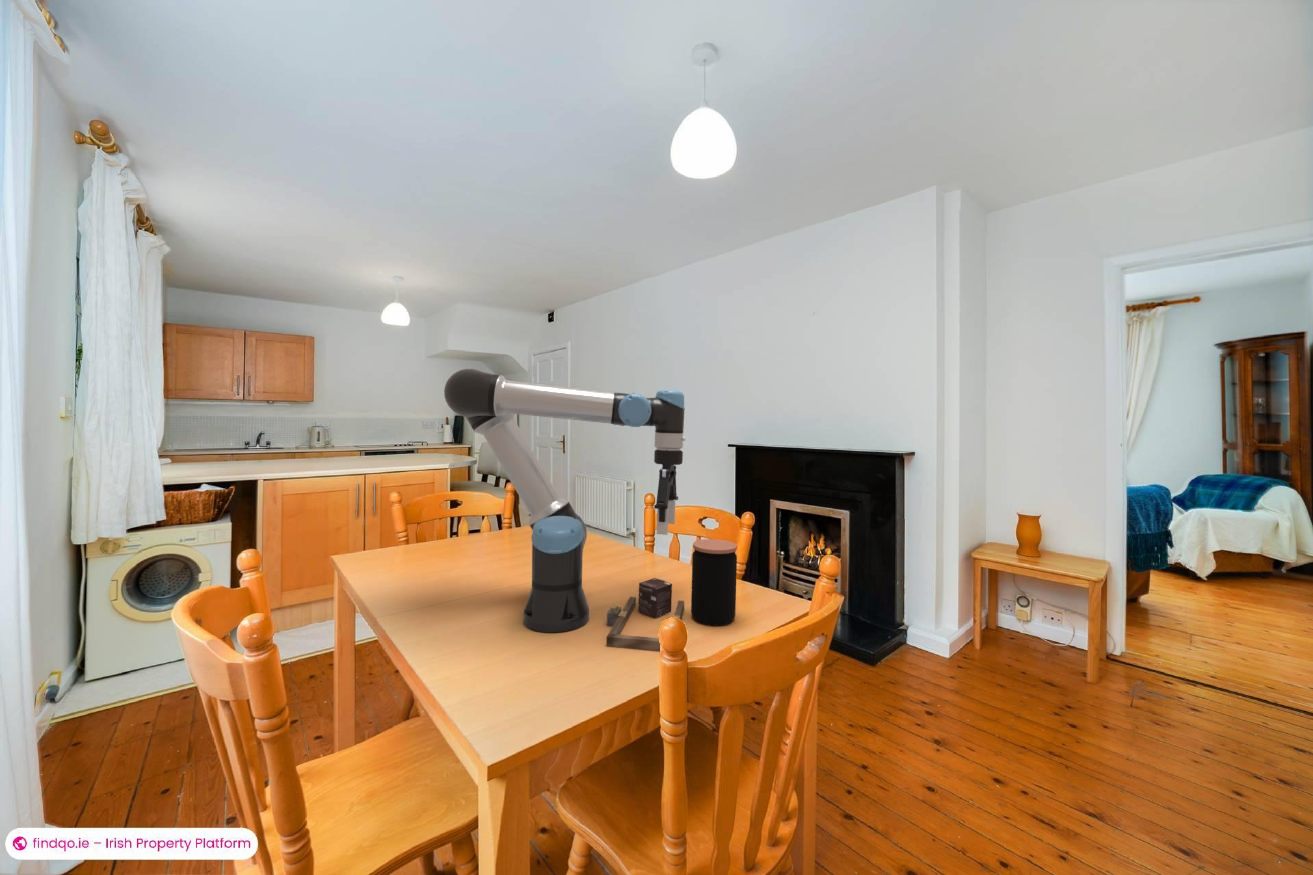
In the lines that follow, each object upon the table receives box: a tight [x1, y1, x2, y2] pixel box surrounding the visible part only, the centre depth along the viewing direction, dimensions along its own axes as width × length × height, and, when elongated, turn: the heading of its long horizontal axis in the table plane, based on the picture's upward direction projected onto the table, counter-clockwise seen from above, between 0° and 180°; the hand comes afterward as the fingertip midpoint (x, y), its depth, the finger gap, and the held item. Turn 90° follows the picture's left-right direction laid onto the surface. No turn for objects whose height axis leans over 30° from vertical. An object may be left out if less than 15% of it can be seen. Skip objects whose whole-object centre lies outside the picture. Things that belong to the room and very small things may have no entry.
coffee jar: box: [690, 538, 738, 627], centre depth 120 cm, size 11×11×18 cm
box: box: [638, 577, 673, 619], centre depth 123 cm, size 6×6×7 cm
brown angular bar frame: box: [606, 596, 685, 652], centre depth 115 cm, size 17×24×4 cm
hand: (666, 528), depth 132 cm, fingers open, 13 cm apart
